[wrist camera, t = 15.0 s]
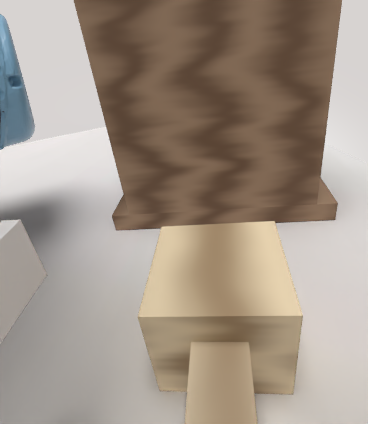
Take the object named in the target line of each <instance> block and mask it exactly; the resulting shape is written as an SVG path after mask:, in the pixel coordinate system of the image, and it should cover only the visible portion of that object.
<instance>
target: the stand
mask: <svg viewBox="0 0 368 424" xmlns="http://www.w3.org/2000/svg"><path fill="white" fill-rule="evenodd" d="M74 3H75V7H76V11H77V15H78V19H79V23H80V26H81V30H82V34H83V38H84V42H85V46H86V50H87V54H88V57H89V61H90V65H91V69H92V73H93V77H94V81H95V85H96V88H97V92H98V96H99V100H100V104H101V108H102V112H103V116H104V120H105V123H106V127H107V131H108V135H109V139H110V143H111V147H112V151H113V155H114V158H115V162H116V166H117V170H118V174H119V178H120V182H121V186H122V190H123V193H124V195H123V197H122V198H121V200H120V202H119V204H118V206H117V208H116V209H115V211H114V213H113V215H112V218H113V221H114V224H115V228H116V230H131V229H152V228H161V227H165V226H185V225H205V224H225V223H245V222H264V221H275V223H277V222H298V221H319V220H335V217H336V211H337V204H338V203H337V201H336V200H335V198H334V197H333V195H332V194H331V192H330V191H329V189H328V188H327V186H326V185H325V183H324V182H323V180H322V179H321V177H320V175H321V167H322V159H323V151H324V143H325V135H326V127H327V118H328V110H329V102H330V94H331V86H332V78H333V70H334V62H335V53H336V45H337V37H338V28H339V21H340V13H341V5H342V0H74Z"/></svg>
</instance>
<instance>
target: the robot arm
mask: <svg viewBox="0 0 368 424" xmlns="http://www.w3.org/2000/svg"><path fill="white" fill-rule="evenodd" d="M34 130H35V125H34V120H33V116H32V112H31V108H30V104H29V100H28V96H27V92H26V89H25V85H24V81H23V77H22V73H21V70H20V67H19V62H18V59H17V55H16V51H15V48H14V44H13V40H12V37H11V33H10V30H9V27H8V24H7V21H6V19H5V17H4V16H2V15H1V14H0V150H1V149H3V148H4V147H6V146H9V145H13V144H16V143H20V142H24V141H26V140H28V139H30V138H31V137H32V135H33V133H34ZM46 276H47V273H46V271H45V269H44V267H43V265H42V263H41V261H40V259H39V257H38V255H37V253H36V250H35V248H34V246H33V244H32V242H31V240H30V238H29V236H28V234H27V232H26V230H25V228H24V226H23V224H22V222H21V219H20V220H2V221H1V222H0V344H1V343H2V341H3V340H4V338H5V337H6V335H7V334H8V332H9V331H10V329H11V328H12V326H13V325H14V323H15V322H16V320H17V319H18V317H19V316H20V314H21V313H22V311H23V310H24V309H25V307H26V306H27V304H28V303H29V301H30V300H31V298H32V297H33V295H34V294H35V292H36V291H37V289H38V288H39V286H40V285H41V283H42V282H43V280H44V279H45V277H46Z"/></svg>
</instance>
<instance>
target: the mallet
mask: <svg viewBox="0 0 368 424" xmlns="http://www.w3.org/2000/svg"><path fill="white" fill-rule="evenodd" d="M302 318H303V315H302V311H301V308H300V305H299V301H298V298H297V295H296V291H295V288H294V284H293V281H292V278H291V274H290V271H289V268H288V264H287V261H286V258H285V254H284V251H283V248H282V244H281V241H280V237H279V234H278V231H277V227H276V224H275V221H264V222H245V223H225V224H205V225H185V226H165V227H161V231H160V234H159V238H158V242H157V246H156V250H155V253H154V257H153V261H152V265H151V268H150V272H149V276H148V280H147V283H146V287H145V291H144V295H143V299H142V302H141V306H140V310H139V314H138V320H139V323H140V327H141V330H142V333H143V337H144V340H145V343H146V346H147V350H148V353H149V356H150V360H151V363H152V366H153V370H154V373H155V376H156V380H157V383H158V386H159V390H160V391H180V392H187V400H186V413H185V424H257V415H256V406H255V396H254V393H258V394H293V390H294V382H295V374H296V366H297V358H298V350H299V342H300V334H301V326H302Z"/></svg>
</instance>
